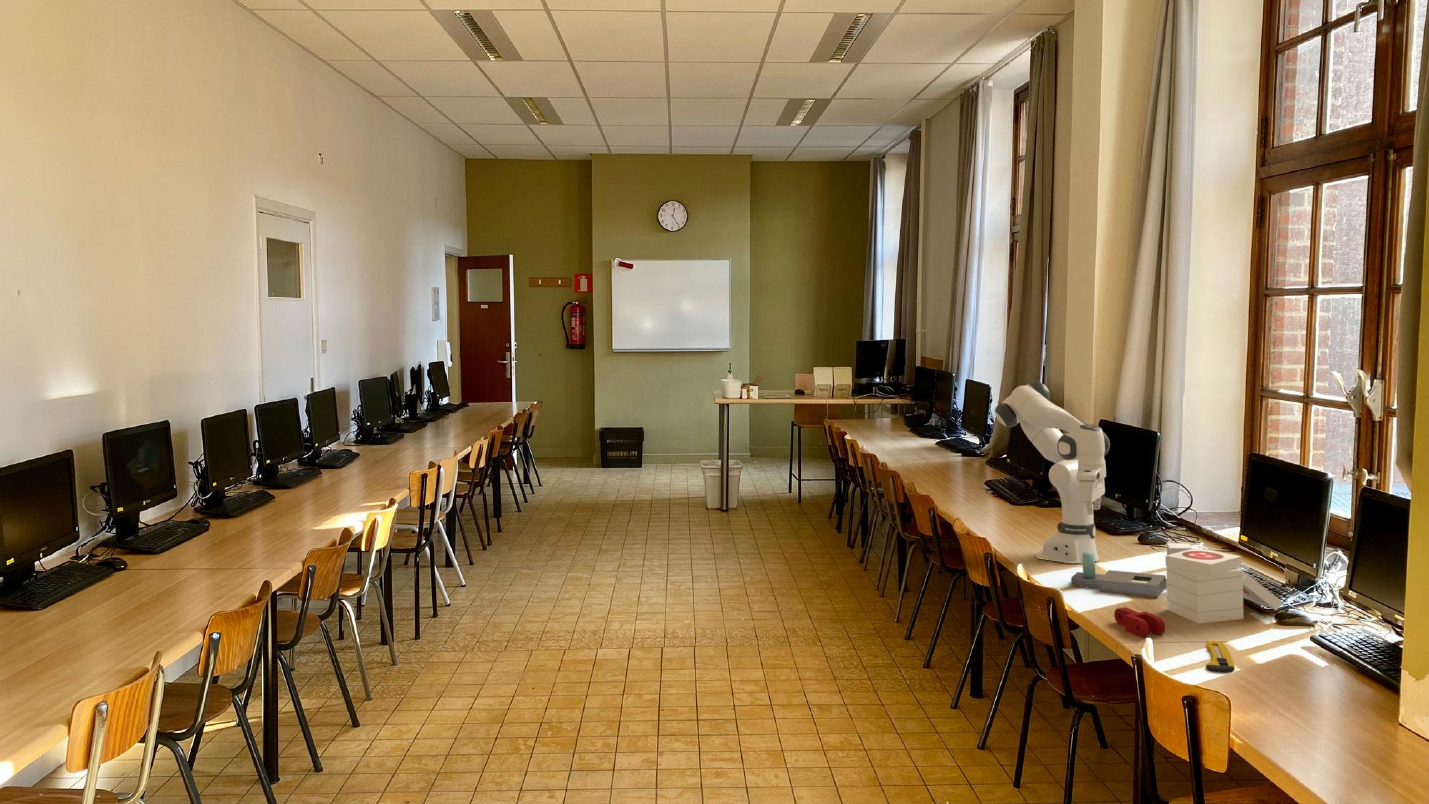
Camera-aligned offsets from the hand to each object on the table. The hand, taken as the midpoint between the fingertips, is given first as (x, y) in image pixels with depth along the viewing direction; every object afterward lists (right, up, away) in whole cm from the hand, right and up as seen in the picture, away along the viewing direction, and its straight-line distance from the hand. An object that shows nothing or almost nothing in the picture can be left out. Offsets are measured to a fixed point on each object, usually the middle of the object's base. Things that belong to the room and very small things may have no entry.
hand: (1093, 511), depth 326 cm
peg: (-1, -22, +1) cm, 22 cm away
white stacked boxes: (+25, -27, -35) cm, 51 cm away
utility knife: (+4, -31, -73) cm, 79 cm away
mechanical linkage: (-6, -30, -47) cm, 56 cm away
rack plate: (+6, -25, -4) cm, 26 cm away
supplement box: (+29, -24, -1) cm, 38 cm away
